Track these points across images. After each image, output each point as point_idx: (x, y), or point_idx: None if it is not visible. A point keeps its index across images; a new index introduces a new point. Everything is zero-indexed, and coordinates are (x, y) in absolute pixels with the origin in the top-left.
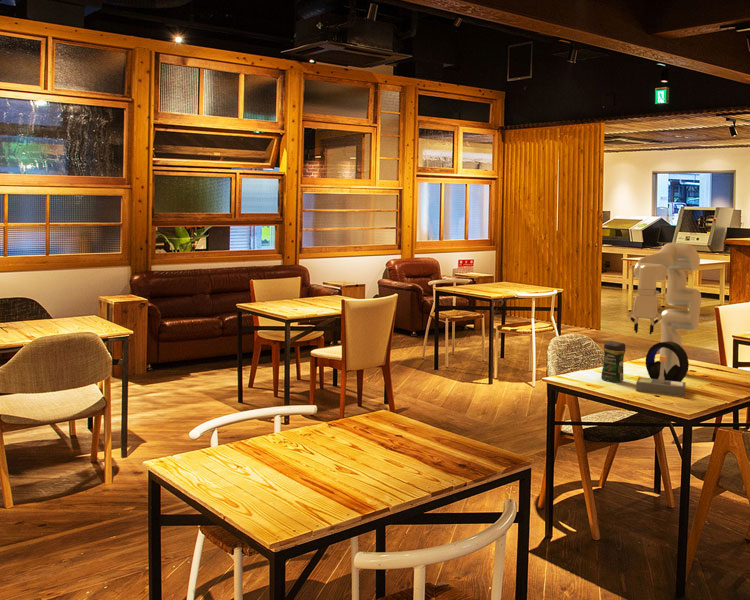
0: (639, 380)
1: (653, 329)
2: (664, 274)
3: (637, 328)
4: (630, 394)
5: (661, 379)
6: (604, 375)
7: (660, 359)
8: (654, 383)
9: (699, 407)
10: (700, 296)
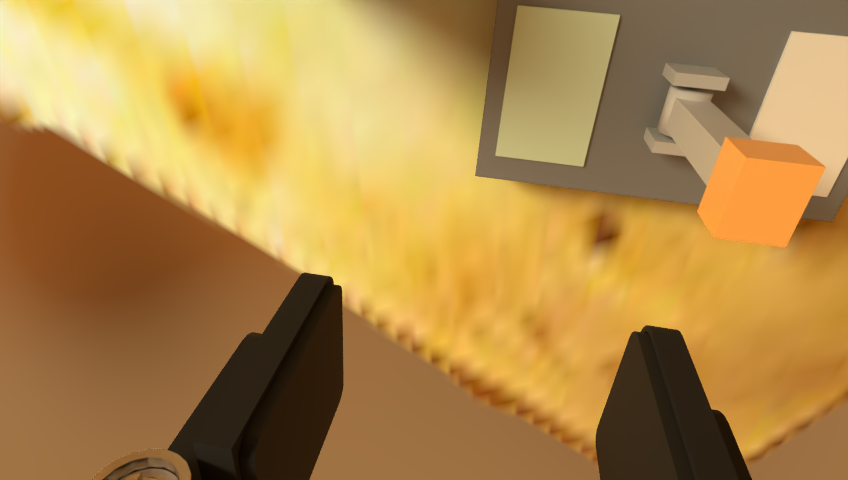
0: (499, 128)
1: (737, 460)
2: None
3: (312, 435)
4: (447, 249)
5: (676, 152)
6: None
7: (708, 222)
8: (609, 169)
9: (798, 389)
10: None
